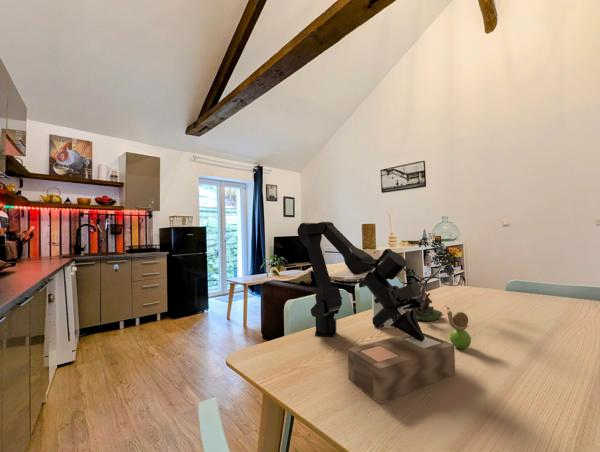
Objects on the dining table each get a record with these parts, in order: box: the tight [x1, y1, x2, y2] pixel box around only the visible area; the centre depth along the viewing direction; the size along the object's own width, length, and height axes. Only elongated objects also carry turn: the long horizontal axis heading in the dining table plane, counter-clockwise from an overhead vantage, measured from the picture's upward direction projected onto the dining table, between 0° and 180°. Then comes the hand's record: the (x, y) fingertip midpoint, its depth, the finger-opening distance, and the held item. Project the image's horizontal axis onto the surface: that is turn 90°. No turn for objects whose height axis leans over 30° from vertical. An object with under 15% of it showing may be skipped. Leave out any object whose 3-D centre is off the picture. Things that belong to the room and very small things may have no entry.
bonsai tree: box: [395, 237, 460, 322], centre depth 112 cm, size 35×24×32 cm
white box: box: [404, 336, 441, 349], centre depth 69 cm, size 6×6×7 cm
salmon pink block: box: [360, 346, 399, 363], centre depth 62 cm, size 6×6×7 cm
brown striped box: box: [347, 332, 456, 404], centre depth 66 cm, size 24×11×7 cm, turn 117°
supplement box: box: [371, 293, 396, 329], centre depth 102 cm, size 7×7×13 cm
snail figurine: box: [446, 306, 472, 349], centre depth 81 cm, size 5×6×12 cm
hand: (423, 340), depth 69 cm, fingers closed, pressing on white box
